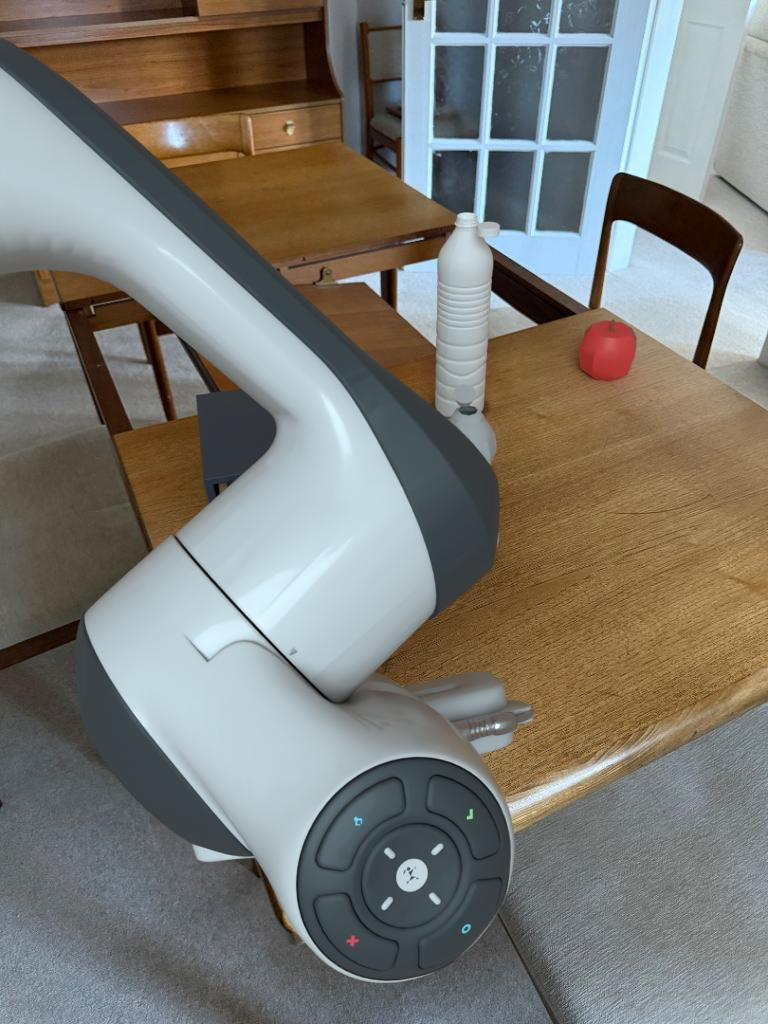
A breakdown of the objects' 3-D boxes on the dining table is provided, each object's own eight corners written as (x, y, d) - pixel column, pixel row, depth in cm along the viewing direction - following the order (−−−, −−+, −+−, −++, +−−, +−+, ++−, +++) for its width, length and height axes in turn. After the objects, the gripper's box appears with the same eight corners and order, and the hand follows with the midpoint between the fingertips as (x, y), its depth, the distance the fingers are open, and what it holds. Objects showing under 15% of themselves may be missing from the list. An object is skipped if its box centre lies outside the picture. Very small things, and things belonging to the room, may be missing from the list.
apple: (568, 361, 107) (575, 309, 102) (622, 358, 108) (632, 306, 103) (583, 388, 101) (591, 335, 96) (640, 385, 102) (652, 331, 96)
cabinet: (355, 528, 80) (350, 455, 74) (220, 552, 78) (203, 479, 72) (328, 444, 93) (322, 376, 87) (210, 463, 90) (195, 394, 84)
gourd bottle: (438, 520, 81) (442, 355, 68) (507, 538, 78) (525, 369, 66) (412, 567, 75) (410, 396, 63) (485, 587, 73) (500, 413, 60)
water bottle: (425, 402, 100) (427, 211, 84) (466, 389, 102) (475, 201, 86) (460, 433, 94) (469, 234, 78) (503, 419, 96) (520, 223, 80)
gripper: (533, 657, 40) (467, 641, 53) (143, 741, 36) (179, 701, 50) (557, 775, 39) (484, 729, 53) (164, 872, 36) (194, 796, 50)
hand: (333, 716), depth 51 cm, fingers open, 8 cm apart
